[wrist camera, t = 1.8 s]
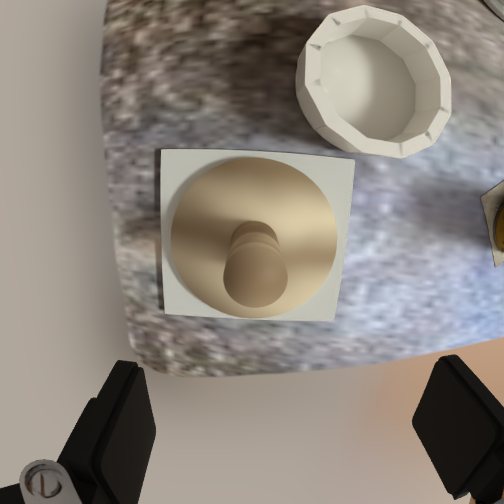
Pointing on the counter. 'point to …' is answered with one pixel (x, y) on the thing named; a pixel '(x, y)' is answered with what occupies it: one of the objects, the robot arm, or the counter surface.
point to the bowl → (373, 84)
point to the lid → (254, 238)
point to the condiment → (495, 220)
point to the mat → (202, 160)
